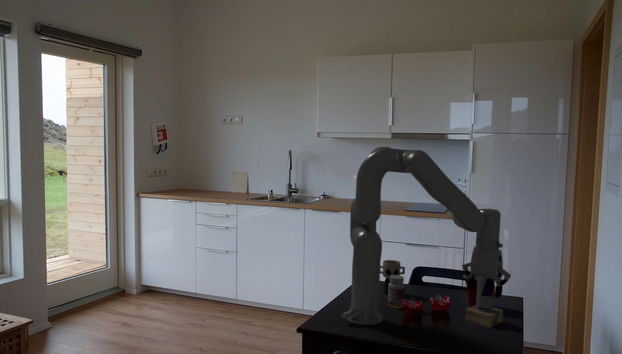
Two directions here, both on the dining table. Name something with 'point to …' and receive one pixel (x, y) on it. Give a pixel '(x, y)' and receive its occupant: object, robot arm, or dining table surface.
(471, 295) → the plastic cup
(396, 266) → the character mug
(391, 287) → the pill bottle
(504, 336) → the dining table surface
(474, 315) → the oak block
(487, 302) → the energy drink
